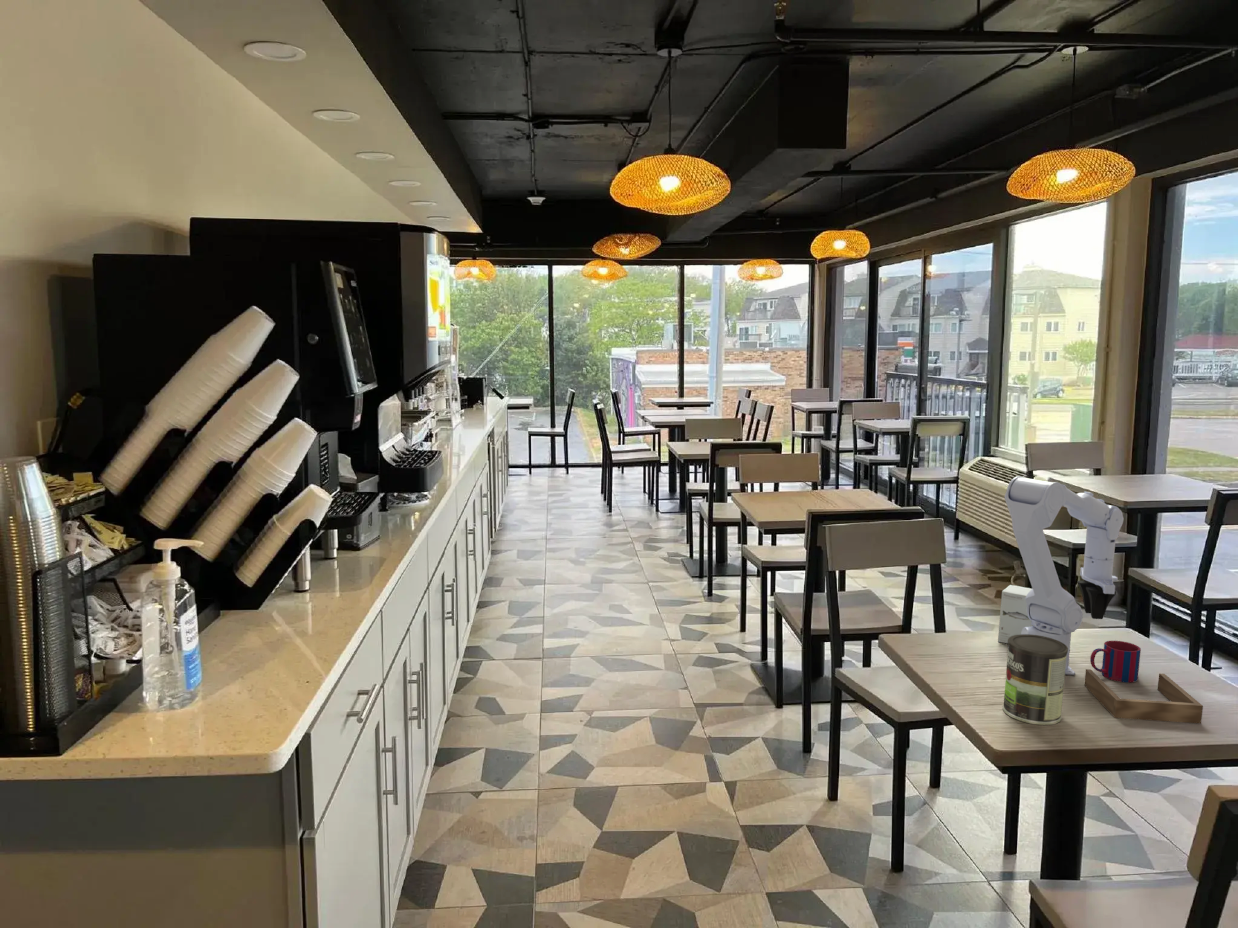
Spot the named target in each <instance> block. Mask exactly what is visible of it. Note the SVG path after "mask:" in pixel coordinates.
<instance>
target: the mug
mask: <svg viewBox="0 0 1238 928" xmlns="http://www.w3.org/2000/svg"><path fill="white" fill-rule="evenodd" d="M1141 651H1142V649H1141V647H1140V646H1138V645H1137V644H1134V643H1131V642H1127V641H1122V640H1107V641H1104V643H1103V648H1100V647H1099V648H1095V649H1094V650H1092V652H1091V655H1090V657H1089V659H1090V665H1091V666H1092V669H1094V670H1095V671H1097V672H1099V673H1101V675H1102V677H1104V678H1106V679H1109V680H1110V681H1114V682H1119V683H1127V684H1128V683H1129V684H1130V683H1135V682H1137V681H1138V679H1139V673H1140V672H1139V670H1140V661H1141ZM1099 652H1102V654H1103V655H1102V664H1101V665H1102V666H1101V668H1099V667H1097V666H1096V664H1095V663H1096V662H1095V658H1096V655H1097V654H1098V653H1099Z"/></svg>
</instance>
